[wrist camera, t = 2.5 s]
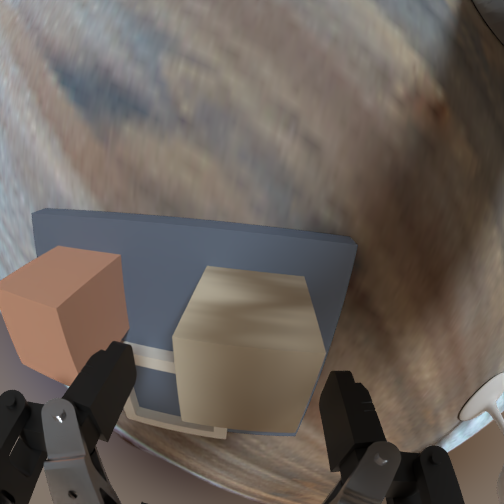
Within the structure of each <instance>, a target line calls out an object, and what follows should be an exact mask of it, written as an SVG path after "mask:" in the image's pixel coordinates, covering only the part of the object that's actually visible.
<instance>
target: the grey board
mask: <svg viewBox="0 0 504 504" xmlns="http://www.w3.org/2000/svg"><path fill="white" fill-rule="evenodd" d="M32 223H33V232H34V240H35V247H36V253H37V258H38V257H39V256H41V255H43V254H44V253H46V252H48V251H50V250H51V249H53V248H55V247H57V246H64V247H70V248H77V249H84V250H91V251H98V252H105V253H112V254H119V255H121V262H122V274H123V283H124V292H125V300H126V308H127V315H128V321H129V327H130V328H129V330H128V331H127V332H126V334H125V335H124V337H123V338H122V340H121V341H120V342H121V343H125V344H129V345H131V346H132V349H133V355H134V360H135V365H136V371H137V377H136V382H135V385H134V387H133V389H132V391H131V393H130V395H129V397H128V399H127V401H126V404H125V406H124V408H123V409H124V410H125V413H126V416H127V418H128V419H131V420H135V421H138V422H142V423H145V424H149V425H153V426H157V427H161V428H165V429H169V430H174V431H178V432H183V433H188V434H194V435H199V436H205V437H212V438H218V439H226V436H227V432H235V433H244V434H256V435H273V436H296V433H297V431H298V429H299V427H300V424H301V422H302V420H303V417H304V415H305V413H306V410H307V408H308V405H309V403H310V400H311V398H312V395H313V393H314V390H315V387H316V385H317V382H318V380H319V377H320V374H321V371H322V369H323V366H324V363H325V360H326V357H327V354H328V351H329V348H330V345H331V342H332V339H333V336H334V333H335V330H336V326H337V323H338V320H339V317H340V313H341V310H342V306H343V303H344V299H345V295H346V292H347V288H348V284H349V280H350V276H351V272H352V268H353V264H354V260H355V256H356V251H357V247H358V245H357V244H356V243H355V242H354V241H353V240H352V239H351V238H350V237H348V236H341V235H333V234H326V233H318V232H310V231H302V230H294V229H285V228H277V227H268V226H259V225H250V224H241V223H231V222H221V221H211V220H201V219H190V218H179V217H168V216H156V215H143V214H130V213H116V212H102V211H86V210H68V209H48V208H45V209H42V210H39V211H37V212H34V213H32ZM207 266H214V267H222V268H231V269H240V270H249V271H258V272H267V273H276V274H286V275H295V276H304V277H305V280H306V284H307V287H308V291H309V294H310V297H311V301H312V304H313V308H314V311H315V315H316V318H317V322H318V325H319V329H320V332H321V336H322V340H323V343H324V347H325V351H326V355H325V358H324V361H323V363H322V366H321V369H320V372H319V375H318V378H317V380H316V383H315V386H314V388H313V391H312V394H311V396H310V399H309V401H308V404H307V406H306V409H305V411H304V414H303V416H302V418H301V421H300V423H299V426H298V428H297V430H296V432H295V433H276V432H259V431H247V430H237V429H228V428H220V427H213V426H207V425H200V424H195V423H189V422H184V421H182V419H181V412H180V405H179V398H178V390H177V381H176V372H175V363H174V352H173V340H172V336H173V334H174V332H175V330H176V328H177V326H178V323H179V321H180V319H181V317H182V315H183V313H184V311H185V309H186V307H187V305H188V303H189V301H190V299H191V297H192V295H193V293H194V291H195V289H196V287H197V285H198V283H199V281H200V279H201V277H202V275H203V273H204V271H205V269H206V267H207Z"/></svg>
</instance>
